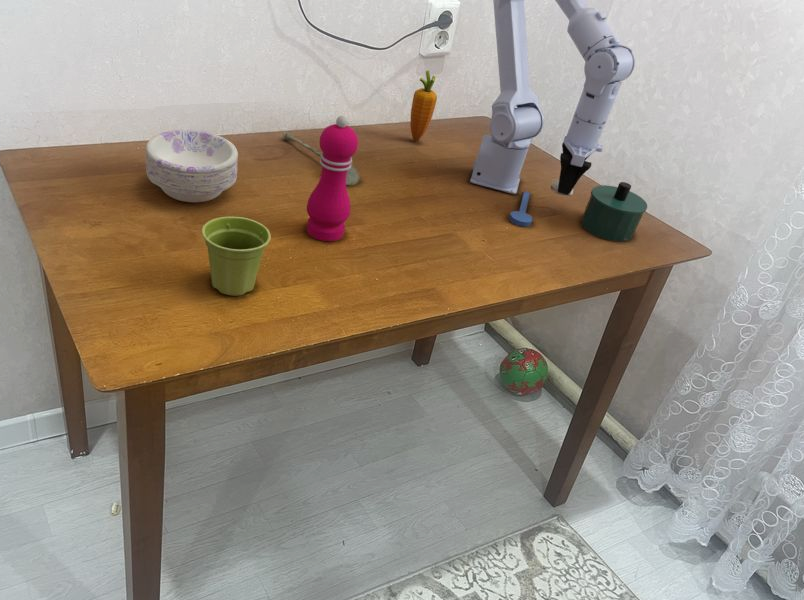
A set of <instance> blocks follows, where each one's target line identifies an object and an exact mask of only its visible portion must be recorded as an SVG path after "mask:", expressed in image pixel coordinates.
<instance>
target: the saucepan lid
mask: <svg viewBox="0 0 804 600" xmlns="http://www.w3.org/2000/svg"><path fill="white" fill-rule="evenodd" d="M617 185H618V186H614V185H606V184H605V185H596V186H594V187H593V188H592V189H591V192H590V196H591V195H592V197H593V199H594V200H595V201H597V202H598V203H599V204H601V205H603V206H604V207H607V208H609V209H611V210H614V211H617V212H621V213H626V214H641V213H643V214H644V213H645V212H646V211H647V210H648V203H647V202H646V200H645V199H644V198H643V197H641V196H640V195H639V194H637V193H635V192H632V191H631V189H632V184H630V183H628V182H625V181H620V182H619V183H618V184H617Z"/></svg>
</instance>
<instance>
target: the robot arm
mask: <svg viewBox="0 0 804 600" xmlns="http://www.w3.org/2000/svg"><path fill="white" fill-rule="evenodd" d="M492 1H493V13H494V15H493V16H494V26H495V28H494V29H495V38H496V40H495V41H496V52H497V53H496V54H497V64H498V65H497V66H498V77H499V78H498V79H499V89H500V94H499V95H498V96H497V98H496V99H495V100H494V102H493V103H492V104H491V118H490V121H489V132H490V134H484V135H483V137H482V139H481V144H480V146H479V149H478V152H477V156H476V159H475V160H474V162H473V165H472V173H471V176H470V180H469V182H470V183H471V184H475V185H478V186H481V187H485V188H488V189H493V190H496V191H500V192H503V193H508V194H510V195H517V193H518V188H519V184H520V181H521V178H520V176H521V173H522V169H523V167H524V163H525V161H526V157H527V154H528V151H529V149H530V145H531V144H532V142H533V139H534V138H536V137H537V136H539V135H540V134H541V132H542V131H543V128H544V124H545V117H544V114H543V111H542V110H541V107H540V103H539V97H538V95H536V94H535V93H534V91H533V90H532V89H531V84H530V68H529V54H528V52H529V51H528V39H527V24H526V9H525V0H492ZM554 1H555V3H556V4H557V6H559V8H560V9H561V11H562V12H563V14H564V15H565V17H566V18H567V19H568V25H567V33H568V35H569V37H570V38H571V40H572V43H574V45H575V47H576V49H577V50H578V52H579V54H580V55H581V57H582V58H583V60H584V66H583V68H584V70H583V71H584V72H583V73H584V76H585V77H584V78H585V81H584V84H583V86H582V87H583V88H582V91H581V94H580V97H579V99H578V102H577V105H576V107H575V111H574V113H573V116H572V119H571V122H570V125H569V127H568V130H567V132H566V135H565V136H564V138H563V140H562V141H563V142H562V144H561V148H562V149H561V150H562V152H561V153H560V155H559V161H560V172H559V179H560V180H559V185H558V192H559V193H562V194H566V195H565V196H569V194H570V192H571V191H572V189H573V190H574V188H575V186H576V184H578V181H579V180H580V179H581V177H582V176H583V175H584V174H585V173H586V172H588V170H590V169H591V168H592V162H590V161H587V159H588V158H589V157H590V156H591V155H593V154H594V153H595V152H597V153H598V152H599V153H602V152H603V150H604V145H603V144H600V143H599V141H600V139H601V137H602V134H603V131H604V129H605V126H606V124H607V122H608V119H609V116H610V114H611V111H612V108H613V106H614V103H615V101H616V98H617V97H618V96H617V95H618V94H619V90H620V88H621V85H622V82H623V81H625V80H627V79H628V78H630V76H631V75H632V73H633V72H634V69H635V64H636V63H635V62H636V61H635V55H634V54H633V50H632V49H631V47H629V46H627V45H623V44H620V42H621V41H620V39H619V37H618V36H615V35H614V33H613V31H612V30H611V28H610V27H609V25H608V24H607V22H606V19H607V15H606V14H605V12H604V11H600V10H599V9H598V8H595V7H588V5H587V3H586V1H585V0H554Z"/></svg>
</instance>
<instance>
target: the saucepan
mask: <svg viewBox="0 0 804 600" xmlns="http://www.w3.org/2000/svg"><path fill="white" fill-rule="evenodd" d="M643 215H644V213H641V214H626V213H621V212H617V211H614V210H611V209H609V208H607V207H604V206H603V205H601V204H599V203H598V202H597V201H595V200H594V199H593V197H592V195H591V194H590V197H589V200H588V202H587V205H586V207H585V209H584V212H583V214H582V217H581V225H582V227H583V228H584V229H585V230H586V231H587V232H589V233H590V234H591V235H594V236H596V237H597V238H598V237H599V238H601V239H604V240H608V241H612V242H626V241H627V242H628V241H630V240H631V239H632V237H633V236H634V235H635V232H636V230H637V229H638V226H639V223H640V221H641V219H642V217H643Z"/></svg>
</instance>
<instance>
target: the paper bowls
mask: <svg viewBox="0 0 804 600" xmlns="http://www.w3.org/2000/svg"><path fill="white" fill-rule="evenodd" d="M238 157H239V152H238V149H237V148H236V145H234V143H232V142H231V141H230V140H228V139H227V138H225V137H223V136H220V135H218V134H215V133H212V132H207V131H201V130H194V129H177V130H168V131H163V132H161V133H158V134H156V135H155V136H153V137H151V138H150V139H149V140H148V142H147V143H146V145H145V164H146V165H145V168H146V169H145V170H146V176H147V179H148V180H149V181H150V182H151V183H152V184H154V185H156V186H158V187H159V188H161V191H162V192H164V193H165V195H167V196H168V197H170V198H172V199H174V200H177V201H181V202H186V203H205V202H209V201H211V200H214V199H216V198H218V197H219V196H220V195H221V194H222V193H223V191H226V190H228V189H229V188H231V187H232V186H233V185H235V183H236V182H237V179H238V166H239V165H238V164H239V162H238Z"/></svg>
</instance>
